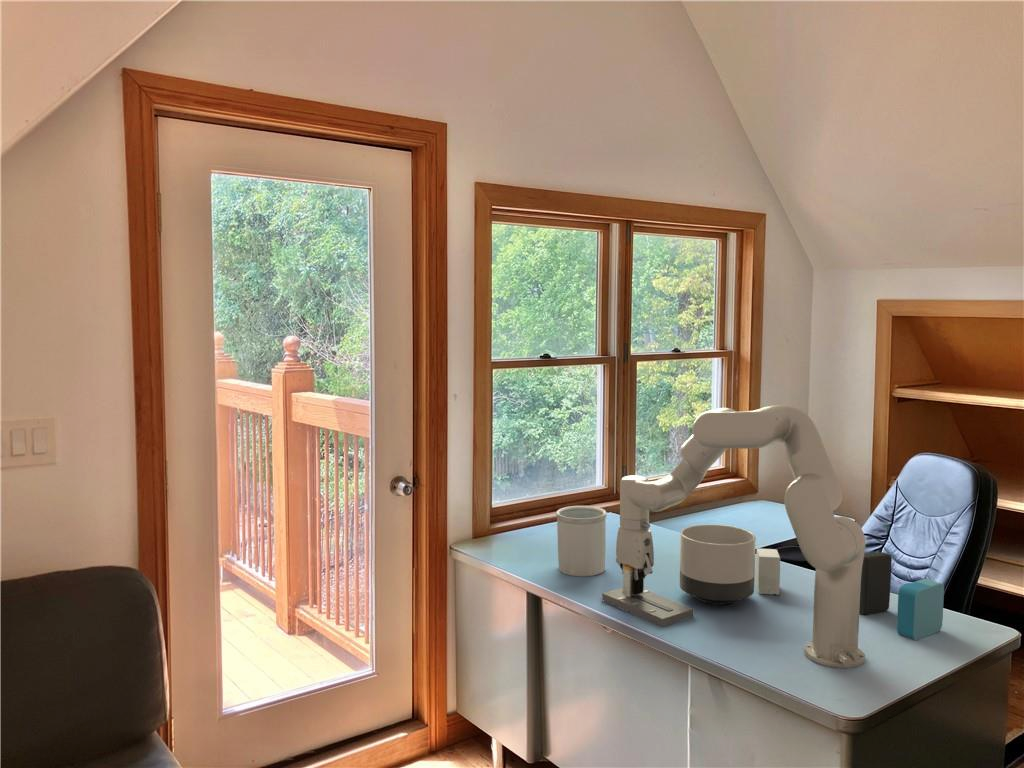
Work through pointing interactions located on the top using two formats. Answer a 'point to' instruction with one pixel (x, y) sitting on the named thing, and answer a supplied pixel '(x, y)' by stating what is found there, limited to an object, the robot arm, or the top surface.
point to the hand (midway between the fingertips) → (633, 591)
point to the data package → (920, 609)
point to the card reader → (875, 583)
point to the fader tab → (629, 581)
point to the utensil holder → (581, 540)
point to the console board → (649, 606)
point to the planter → (717, 563)
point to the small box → (768, 571)
